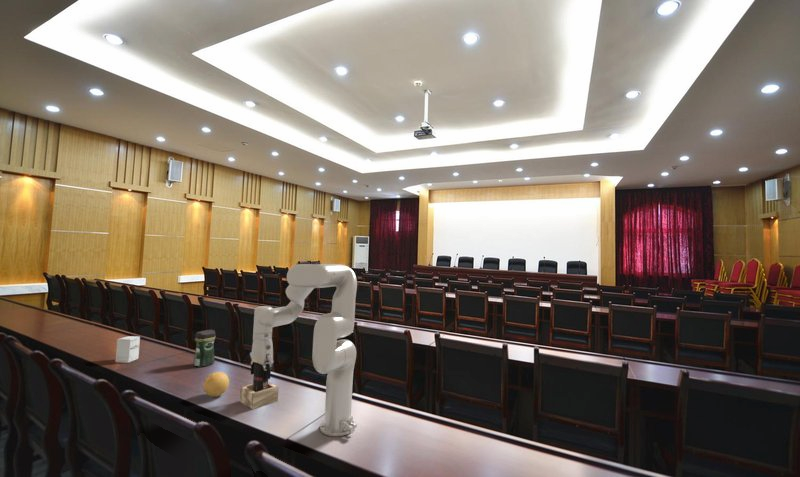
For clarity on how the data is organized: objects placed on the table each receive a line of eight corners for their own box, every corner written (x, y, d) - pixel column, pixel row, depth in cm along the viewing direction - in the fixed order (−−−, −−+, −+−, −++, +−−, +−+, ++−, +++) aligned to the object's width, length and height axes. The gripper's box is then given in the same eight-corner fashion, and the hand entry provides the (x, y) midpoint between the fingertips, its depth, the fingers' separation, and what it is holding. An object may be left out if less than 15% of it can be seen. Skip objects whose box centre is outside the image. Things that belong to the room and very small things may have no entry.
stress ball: (228, 393, 154) (215, 376, 156) (237, 380, 150) (224, 363, 153) (208, 405, 145) (194, 387, 147) (216, 392, 141) (203, 373, 144)
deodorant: (261, 402, 141) (263, 365, 142) (248, 400, 143) (251, 364, 143) (270, 397, 147) (272, 361, 148) (257, 395, 148) (260, 360, 149)
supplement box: (128, 363, 186) (130, 339, 186) (114, 362, 186) (116, 338, 186) (138, 358, 193) (140, 336, 194) (126, 358, 193) (127, 335, 194)
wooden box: (277, 401, 146) (278, 386, 146) (252, 409, 137) (253, 394, 137) (264, 393, 153) (264, 380, 153) (239, 401, 144) (240, 386, 144)
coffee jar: (208, 361, 194) (210, 328, 195) (216, 363, 190) (218, 330, 191) (190, 365, 185) (192, 330, 186) (199, 368, 181) (201, 333, 182)
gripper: (281, 338, 144) (279, 379, 143) (260, 331, 155) (258, 369, 154) (265, 341, 138) (262, 384, 137) (244, 333, 149) (241, 373, 148)
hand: (260, 376), depth 145 cm, fingers open, 9 cm apart
